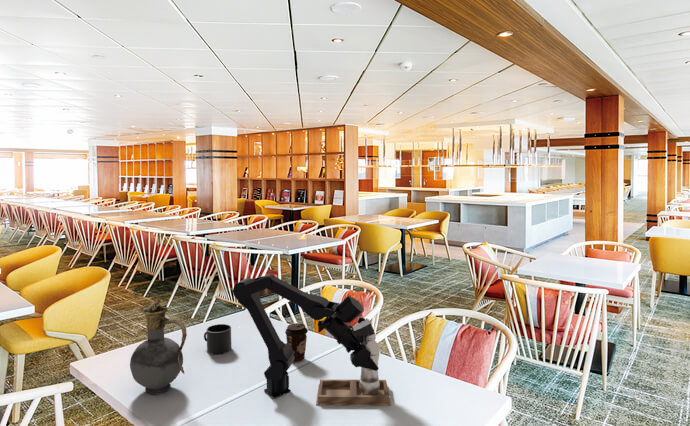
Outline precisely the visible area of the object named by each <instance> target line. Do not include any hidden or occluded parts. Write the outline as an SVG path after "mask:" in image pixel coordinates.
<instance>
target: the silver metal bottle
mask: <svg viewBox="0 0 690 426" xmlns="http://www.w3.org/2000/svg"><path fill="white" fill-rule="evenodd" d="M363 339H364V341H363V343H362V344H365V345H366V346H367V347H368V348H369V349H370V352H371V355H370V357H371V358H372V360H373V361H374V362H375V364H376V365H377V366H378V367H379V359H380V358H379V357H380V353H381V348H380V345H379V343H378V342H377V341H376V339H377V338H376V332H375V331H374V332H373V333H372V334H368V335H366V336H364V337H363ZM360 368H361V369H360V370H361V371H360V377H359V380H360V383H359V388H360V392H361V393H362V394H363V395H376V394H377V393H378V392H379V388H380V383H379V380H380V379H379V369H378V370H377V371H375V370H371V369H368V368H364V367H360Z"/></svg>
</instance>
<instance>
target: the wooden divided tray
mask: <svg viewBox="0 0 690 426" xmlns="http://www.w3.org/2000/svg"><path fill="white" fill-rule="evenodd" d="M359 383H360V379H319V384H318V386H317V395H316V402H315V405H316V406H351V405H369V406H373V407H374V406H377V407H378V406H381V407H384V406H385V407H387V406H388V407H389V406H390V407H391V406H392V402H391V397H390V393H389V388H388V384H387V379H379V383H380V388H379V392H378V393H377V394H376V395H363V394H362V393H361V392H360V388H359Z"/></svg>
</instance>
